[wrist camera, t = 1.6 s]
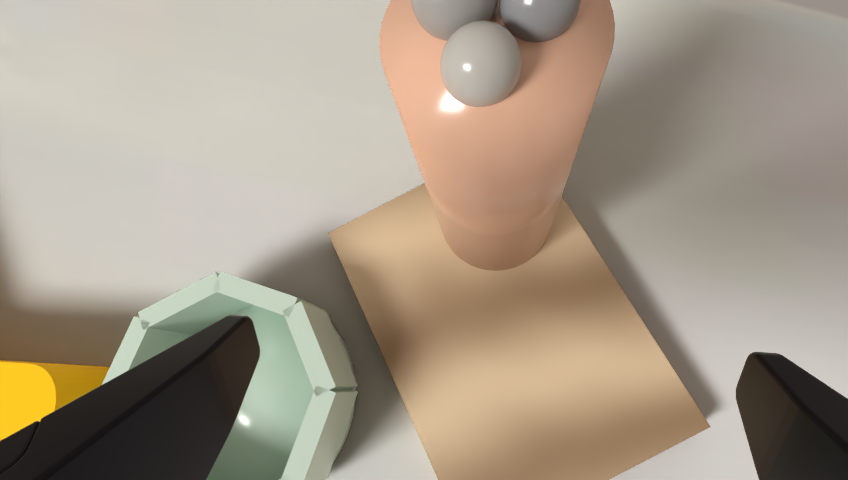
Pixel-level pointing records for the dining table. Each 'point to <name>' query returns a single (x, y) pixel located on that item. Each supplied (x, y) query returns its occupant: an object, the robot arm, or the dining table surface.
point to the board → (513, 351)
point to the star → (41, 390)
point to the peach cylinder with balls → (495, 111)
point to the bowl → (262, 376)
